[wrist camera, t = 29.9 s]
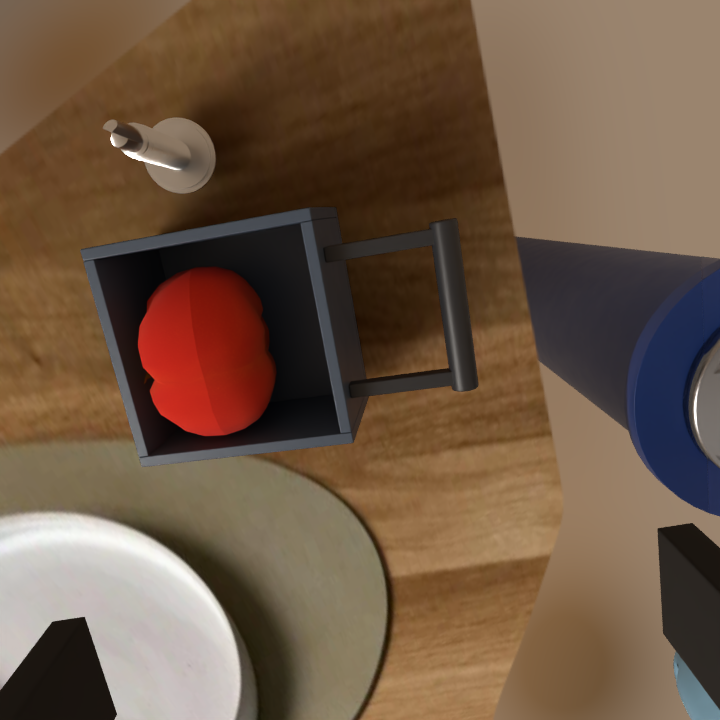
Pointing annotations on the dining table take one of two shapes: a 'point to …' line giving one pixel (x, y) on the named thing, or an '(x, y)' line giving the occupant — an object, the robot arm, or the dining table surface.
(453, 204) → the dining table surface
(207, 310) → the tomato
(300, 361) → the handled storage bin
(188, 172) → the white chess piece
